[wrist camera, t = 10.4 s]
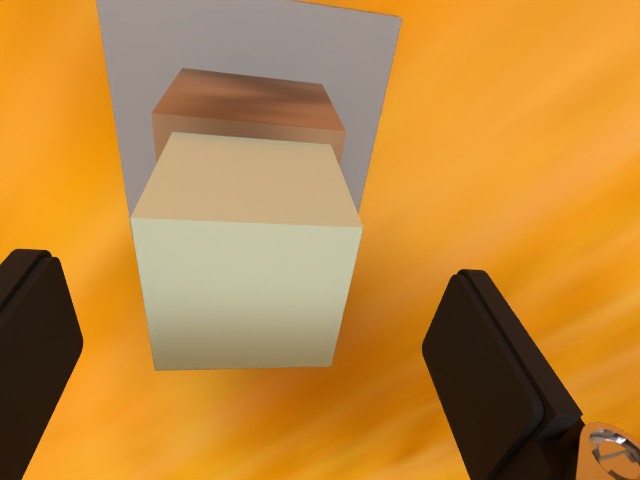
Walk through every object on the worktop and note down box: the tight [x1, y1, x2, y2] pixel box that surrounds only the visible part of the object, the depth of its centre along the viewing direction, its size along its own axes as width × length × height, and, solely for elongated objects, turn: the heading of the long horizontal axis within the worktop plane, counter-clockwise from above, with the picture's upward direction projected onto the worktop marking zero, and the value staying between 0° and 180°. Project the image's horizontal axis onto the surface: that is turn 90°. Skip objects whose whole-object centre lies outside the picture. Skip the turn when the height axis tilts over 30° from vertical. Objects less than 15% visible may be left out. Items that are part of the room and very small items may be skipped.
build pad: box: [96, 0, 402, 240], centre depth 19 cm, size 12×12×1 cm
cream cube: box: [130, 132, 363, 371], centre depth 12 cm, size 5×5×5 cm
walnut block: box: [151, 68, 346, 167], centre depth 16 cm, size 6×6×6 cm
